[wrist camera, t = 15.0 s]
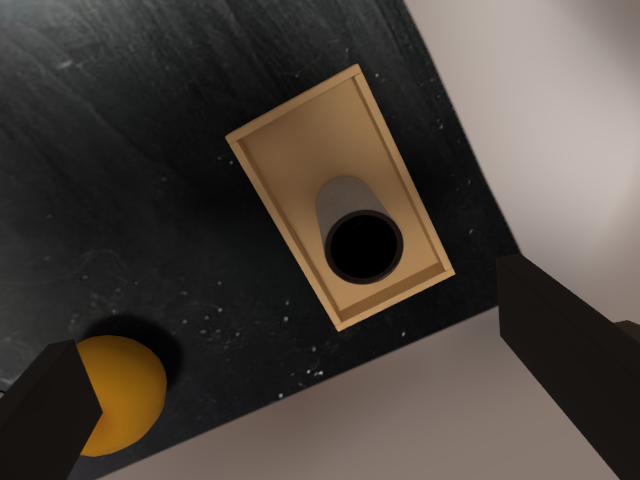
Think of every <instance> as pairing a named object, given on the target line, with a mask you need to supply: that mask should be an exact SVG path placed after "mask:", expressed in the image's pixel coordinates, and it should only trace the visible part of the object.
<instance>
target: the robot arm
mask: <svg viewBox="0 0 640 480" xmlns="http://www.w3.org/2000/svg"><path fill="white" fill-rule="evenodd" d="M496 271H497V289H498V306H499V323H500V336H501V337H502V338H503V340H504V341H505V342H506V343H507V344H508V346H509V347H510V348H511V349H512V350H513V352H514V353H515V354H516V355H517V356H518V358H519V359H520V360H521V361H522V362H523V364H524V365H525V366H526V367H527V369H528V370H529V371H530V372H531V373H532V375H533V376H534V377H535V378H536V379H537V381H538V382H539V383H540V384H541V385H542V387H543V388H544V389H545V390H546V391H547V393H548V394H549V395H550V396H551V397H552V399H553V400H554V401H555V402H556V403H557V405H558V406H559V407H560V408H561V409H562V410H563V412H564V413H565V414H566V415H567V416H568V418H569V419H570V420H571V421H572V423H573V424H574V425H575V426H576V427H577V428H578V430H579V431H580V432H581V433H582V435H583V436H584V437H585V438H586V439H587V441H588V442H589V443H590V444H591V445H592V447H593V448H594V449H595V450H596V451H597V453H598V454H599V455H600V456H601V457H602V459H603V460H604V461H605V462H606V463H607V465H608V466H609V467H610V468H611V469H612V470H613V472H614V473H615V474H616V475H617V477H618V478H619V479H620V480H640V325H639V324H636V323H633V322H631V321H628V320H626V321H621V322H616V323H612V322H611V321H610V320H608V319H607V318H606V317H604V316H603V315H602V314H600V313H599V312H598V311H596V310H595V309H594V308H592V307H591V306H589V305H588V304H587V303H586V302H584V301H583V300H582V299H580V298H579V297H578V296H576V295H575V294H573V293H572V292H571V291H570V290H568V289H567V288H566V287H564V286H563V285H561V284H560V283H559V282H558V281H556V280H555V279H553V278H552V277H551V276H550V275H548V274H547V273H546V272H544V271H543V270H542V269H540V268H539V267H538V266H536V265H535V264H533V263H532V262H531V261H529V260H528V259H527V258H526V257H524V256H523V255H522V254H515V255H510V256H505V257H500V258H496ZM102 414H103V410H102V408H101V406H100V403H99V401H98V398H97V396H96V393H95V391H94V388H93V386H92V383H91V381H90V378H89V376H88V374H87V371H86V369H85V366H84V364H83V361H82V359H81V356H80V354H79V351H78V349H77V346H76V344H75V341H74V339H73V340H67V341H62V342H57V343H52V344H48V346H47V347H46V348H45V349H44V350H43V351H42V352H41V353H40V355H39V356H38V357H37V358H36V359H35V360H34V361H33V362H32V363H31V365H30V366H29V367H28V368H27V369H26V370H25V371H24V372H23V374H22V375H21V376H20V377H19V378H18V379H17V380H16V381H15V382H14V384H13V385H12V386H11V387H10V388H9V389H8V390H7V391H6V393H5V394H4V395H3V396H2V397H1V398H0V480H66V479H67V477H68V476H69V474H70V472H71V470H72V468H73V467H74V465H75V463H76V461H77V459H78V457H79V456H80V454H81V452H82V450H83V448H84V446H85V445H86V443H87V441H88V439H89V437H90V436H91V434H92V432H93V430H94V428H95V426H96V425H97V423H98V421H99V419H100V417H101V415H102Z"/></svg>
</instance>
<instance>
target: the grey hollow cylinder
mask: <svg viewBox="0 0 640 480" xmlns="http://www.w3.org/2000/svg"><path fill="white" fill-rule="evenodd" d="M316 214H317V220H318V225H319V230H320V235H321V240H322V245H323V250H324V255H325V259H326V262H327V264H328V266H329V268H330V269H331V270H332V272H333V273H334V274H335V275H336V276H338V277H339V278H340V279H342V280H344V281H346V282H348V283H351V284H357V285H368V284H373V283H376V282H379V281H381V280H383V279H384V278H386V277H387V276H389V275H390V274H391V273H392V272H393V271H394V270H395V269H396V267H397V266H398V264H399V262H400V260H401V258H402V255H403V250H404V240H403V235H402V232H401V230H400V228H399V226H398V225H397V223H396V222H395V221H394V219H393V218H392V217H391V215H390V214H389V213H388V211H387V210H386V209H385V207H384V206H383V205H382V203H381V202H380V201H379V199H378V198H377V197H376V196H375V194H374V193H373V192H372V190H371V189H370V188H369V186H368V185H367V184H366V183H364V182H363V181H362V180H360V179H358V178H356V177H353V176H338V177H335V178H333V179H331V180H329V181H328V182H326V183H325V184H324V185H323V186H322V188H321V189H320V191H319V192H318V195H317V198H316Z"/></svg>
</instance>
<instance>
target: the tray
mask: <svg viewBox="0 0 640 480" xmlns="http://www.w3.org/2000/svg"><path fill="white" fill-rule="evenodd" d="M225 138H226V140H227V142H228V143H229V144H230V147H231V148H232V150H233V152H234V154H235V155H236V157H237V159H238V160H239V162H240V164H241V166H242V167H243V169H244V171H245V173H246V174H247V176H248V178H249V179H250V181H251V183H252V185H253V186H254V188H255V190H256V191H257V193H258V195H259V197H260V198H261V200H262V202H263V203H264V205H265V207H266V209H267V210H268V212H269V214H270V215H271V217H272V219H273V221H274V222H275V224H276V226H277V227H278V229H279V231H280V233H281V234H282V236H283V238H284V239H285V241H286V243H287V245H288V246H289V248H290V250H291V251H292V253H293V255H294V257H295V258H296V260H297V262H298V263H299V265H300V267H301V269H302V270H303V272H304V274H305V275H306V277H307V279H308V281H309V282H310V284H311V286H312V287H313V289H314V291H315V293H316V294H317V296H318V298H319V299H320V301H321V303H322V305H323V306H324V308H325V310H326V311H327V313H328V315H329V317H330V318H331V320H332V322H333V323H334V325H335V327H336V329H337V330H338V332H339V331H341V330H343V329H345V328H347V327H349V326H351V325H353V324H355V323H357V322H359V321H361V320H363V319H365V318H367V317H369V316H371V315H373V314H375V313H377V312H379V311H381V310H383V309H385V308H387V307H390V306H392V305H394V304H396V303H398V302H400V301H402V300H404V299H406V298H408V297H410V296H412V295H414V294H416V293H418V292H420V291H422V290H424V289H426V288H428V287H430V286H432V285H434V284H436V283H438V282H440V281H442V280H444V279H446V278H448V277H450V276H452V275H454V274H455V272H454V270H453V268H452V266H451V263H450V261H449V259H448V257H447V255H446V253H445V250H444V248H443V246H442V244H441V242H440V240H439V237H438V235H437V233H436V231H435V229H434V227H433V224H432V222H431V220H430V218H429V216H428V214H427V212H426V209H425V207H424V205H423V203H422V201H421V199H420V196H419V194H418V192H417V190H416V188H415V186H414V183H413V181H412V179H411V177H410V175H409V173H408V170H407V168H406V166H405V164H404V162H403V160H402V158H401V155H400V153H399V151H398V149H397V147H396V145H395V142H394V140H393V138H392V136H391V134H390V132H389V129H388V127H387V125H386V123H385V121H384V119H383V116H382V114H381V112H380V110H379V108H378V106H377V104H376V101H375V99H374V97H373V95H372V93H371V91H370V88H369V86H368V84H367V82H366V80H365V78H364V75H363V73H362V72H361V69H360V67H359V65H358V64H355V65H352V66H350V67H348V68H346V69H345V70H343V71H341V72H339V73H337V74H336V75H334V76H332V77H330V78H328V79H327V80H325V81H323V82H321V83H319V84H318V85H316V86H314V87H312V88H310V89H308V90H307V91H305V92H303V93H301V94H299V95H298V96H296V97H294V98H292V99H290V100H289V101H287V102H285V103H283V104H281V105H279V106H278V107H276V108H274V109H272V110H270V111H269V112H267V113H265V114H263V115H261V116H260V117H258V118H256V119H254V120H252V121H251V122H249V123H247V124H245V125H243V126H241V127H240V128H238V129H236V130H234V131H232V132H231V133H229V134H228V135H227V136H226V137H225ZM338 176H353V177H356V178H358V179H360V180H362V181H363V182H364V183H366V184H367V185H368V186H369V188H370V189H371V190H372V192H373V193H374V194H375V196H376V197H377V198H378V199H379V201H380V202H381V203H382V205H383V206H384V207H385V209H386V210H387V211H388V213H389V214H390V215H391V217H392V218H393V219H394V221H395V222H396V223H397V225H398V226H399V228H400V230H401V232H402V235H403V240H404V250H403V255H402V258H401V260H400V262H399V264H398V266H397V267H396V269H395V270H394V271H393V272H392V273H391V274H390V275H389V276H387V277H386V278H384V279H383V280H381V281H379V282H376V283H373V284H368V285H357V284H351V283H348V282H346V281H344V280H342V279H340V278H339V277H338V276H336V275H335V274H334V273H333V272H332V270H331V269H330V268H329V266H328V264H327V262H326V259H325V255H324V250H323V245H322V240H321V235H320V230H319V225H318V220H317V214H316V198H317V195H318V192H319V191H320V189H321V188H322V186H323V185H324V184H325V183H326V182H328V181H329V180H331V179H333V178H335V177H338Z"/></svg>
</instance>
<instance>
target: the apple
mask: <svg viewBox="0 0 640 480" xmlns="http://www.w3.org/2000/svg"><path fill="white" fill-rule="evenodd" d="M76 346H77V349H78V351H79V354H80V356H81V359H82V361H83V364H84V366H85V369H86V371H87V374H88V376H89V378H90V381H91V383H92V386H93V388H94V391H95V393H96V396H97V398H98V401H99V403H100V406H101V408H102V410H103V414H102V415H101V417H100V419H99V421H98V423H97V425H96V426H95V428H94V430H93V432H92V434H91V436H90V437H89V439H88V441H87V443H86V445H85V446H84V448H83V450H82V452H81V454H80V455H87V456H93V457H94V456H100V455H105V454H111V453H113V452H116V451H118V450H121V449H123V448H125V447H127V446H129V445H131V444H132V443H134V442H136V441H138V440H139V439H140V438H141V437H142V436H144V435H145V434H146V433H147V432H148V430H149V429H150V428H151V427H152V425H153V424H154V423H155V421H156V420H157V419H158V417H159V415H160V413H161V411H162V409H163V407H164V403H165V395H166V387H167V380H166V373H165V370H164V368H163V365H162V363H161V362H160V360H159V358H158V357H157V356H156V355H155V354H154V353H153V352H152V351H151V350H150V349H148V348H147V347H145V346H144V345H142V344H140V343H139V342H137V341H135V340H133V339H130V338H126V337H122V336H112V335H103V336H96V337H91V338H88V339H86V340H84V341H82V342H80V343H78V344H76Z"/></svg>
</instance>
